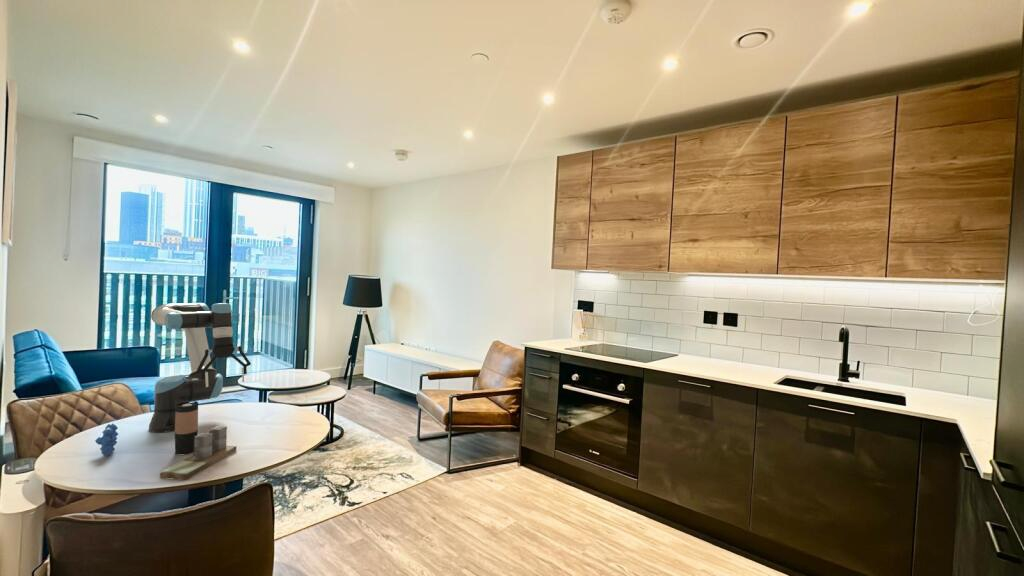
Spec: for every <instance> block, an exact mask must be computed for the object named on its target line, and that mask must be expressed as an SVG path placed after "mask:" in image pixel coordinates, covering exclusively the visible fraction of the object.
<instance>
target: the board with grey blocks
mask: <svg viewBox="0 0 1024 576" xmlns="http://www.w3.org/2000/svg"><path fill="white" fill-rule="evenodd" d="M227 433H228V427H227V426H226V425H225V426H224V425H217V426H214V427H212V428H210V430H209V431H208V432H201V433H198V435H197V436H195V438H194V446H193V454H192V455H191V456H189V457H187V458H186V459H184V460H183V459H182V460H180V461H179V462H177V463H175V464H173V465H171V466H169V467H167V468H165V469H163V470H161V471H160V472H159V474H160V475H159V478H160V479H166V478H173V479H172V480H178V479H181V481H187V480H189V479H191V478H192V477H194V476H196V475H197V474H199V473H201V472H203V471H204V470H206V469H208V468H211V466H213V465H215V464H216V463H218V462H221V460H223V459H224V458H227V457H228V456H231V455H232V454H233V453H236V451H237V446H236V445H227V439H228V438H227V435H228V434H227Z"/></svg>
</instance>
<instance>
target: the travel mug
mask: <svg viewBox="0 0 1024 576" xmlns="http://www.w3.org/2000/svg"><path fill="white" fill-rule="evenodd" d="M198 429H199V401H193V402H182V403H178V404H177V405H176V415H175V431H174V452H175V455H177V454H185V455H189V453H190V454H192V453H193V446H194V438H195V436H197V435H199V432H198V431H199V430H198Z"/></svg>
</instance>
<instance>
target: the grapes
mask: <svg viewBox="0 0 1024 576" xmlns="http://www.w3.org/2000/svg"><path fill="white" fill-rule="evenodd" d="M104 428H105V429H104V430H103V431H102V432H101V433H102V434H103V435H101V436H99V437H97V438H96V439H95V441H94V442H95V443H96V444H97V445H99V446H101V447H100V448H99V449H100V451H101V454H102V456H103V457H108V456H110V455H111V454H112V453H113V452H114V451H115V449H116V448H115V446H116V444H117V443H118V438H117V436H119V432H117V430H118V425H116V424H114V423H112V422H111V423H108V424H107V425H106V426H105V427H104Z"/></svg>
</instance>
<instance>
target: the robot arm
mask: <svg viewBox="0 0 1024 576" xmlns="http://www.w3.org/2000/svg"><path fill="white" fill-rule="evenodd" d="M232 311H233V310H232V305H231V303H229V302H228V303H227V302H221V303H219V302H218V303H213V304H212V305H211V310H210V308H209V306H208V305H207V304H206V303H204V302H181V303H180V302H177V303H175V302H174V303H173V302H170V303H165V304H161V305H158V306H157V307H155V308H154V309H153V310H152V312H151V315H150V317H151V320H152V321H153V322H154V323H155V324H157V325H159V326H165V328H166V329H167V330H181V331H183V332H184V334H185V341H186V342H185V343H186V347H187V352H188V359H189V360H188V361H189V365H190V371H191V372H190V373H189V374H188V376H186V375H183V374H179V375H172V376H167V377H164V378H161V379H159V380H157V381H156V382H155V384H154V391H153V394H154V398H153V399H154V400H153V401H154V404H153V405H154V406H153V409H154V410H153V411H154V412H153V415H152V417H151V419H150V422H149V424H148V431H149V432H152V433H168V432H175V415H176V405H177V404H178V403H182V402H189V403H193V402H199V401H206V400H211V399H215V398H218V397H219V396H221V394H222V391H223V386H224V385H223V384H224V380H223V379H224V377H223V375H222V374H221V373H217V369H215V368H214V367H213V364H214V363H215V361H216V360H217V359H218V358H219V359H224V358H229V357H232V359H234V360H235V361H236V362H237V363H239V364H240V365H241V366H242V367H241V382H242V383H244V382H245V375H247V374H248V372H247V371H248V370H247V367H249V366H251V364H252V363H251V362H250V360H249V359H248V357H247V356H246V354H245V353H244V351H243V349H242V346H241V345H238V346H236V347H235V346H234V337H233V335H234V333H233V315H232V313H233V312H232ZM206 328H208V329H212V337H213V339H212V340H213V341H212V342H213V345H212V346H213V349H210V348H209V342H208V338H207V332H206ZM235 351H237V352H239V354H240V355H241V357H242V358H243V360H244V362H246V363H244V362H243V361H242V360H241V359H240V358H238V356H236V354H233V353H234V352H235ZM212 353H213V354H214V356H213V357H212V358H211V354H212Z"/></svg>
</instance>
